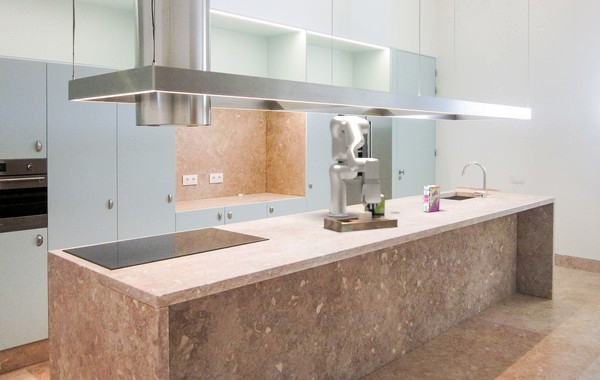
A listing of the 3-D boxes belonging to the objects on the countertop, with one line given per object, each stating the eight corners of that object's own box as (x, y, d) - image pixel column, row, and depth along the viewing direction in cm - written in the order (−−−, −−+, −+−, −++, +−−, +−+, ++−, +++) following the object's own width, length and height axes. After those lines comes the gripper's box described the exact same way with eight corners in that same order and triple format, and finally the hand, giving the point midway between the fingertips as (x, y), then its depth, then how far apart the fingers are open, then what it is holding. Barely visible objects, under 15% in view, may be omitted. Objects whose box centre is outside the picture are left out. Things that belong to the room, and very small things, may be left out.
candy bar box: (429, 212, 324) (429, 186, 322) (422, 211, 328) (423, 186, 326) (439, 211, 331) (440, 185, 330) (433, 210, 335) (433, 185, 333)
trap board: (323, 227, 267) (323, 218, 267) (379, 222, 283) (379, 213, 283) (340, 232, 253) (340, 222, 253) (397, 226, 269) (397, 217, 268)
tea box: (385, 222, 285) (385, 195, 284) (366, 222, 285) (367, 195, 284) (381, 218, 300) (381, 193, 299) (364, 218, 300) (364, 193, 299)
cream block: (358, 219, 273) (358, 211, 273) (366, 219, 276) (366, 210, 275) (363, 221, 269) (363, 212, 268) (371, 220, 271) (371, 211, 271)
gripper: (379, 181, 280) (378, 214, 281) (356, 182, 273) (355, 216, 275) (387, 181, 273) (387, 216, 275) (364, 182, 266) (364, 218, 268)
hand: (371, 216), depth 275 cm, fingers closed
